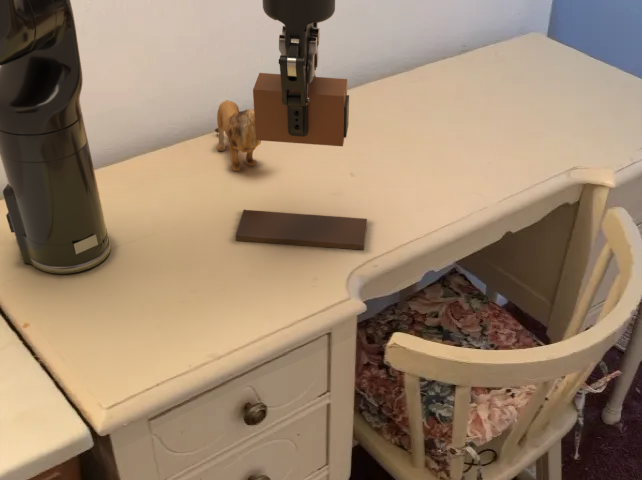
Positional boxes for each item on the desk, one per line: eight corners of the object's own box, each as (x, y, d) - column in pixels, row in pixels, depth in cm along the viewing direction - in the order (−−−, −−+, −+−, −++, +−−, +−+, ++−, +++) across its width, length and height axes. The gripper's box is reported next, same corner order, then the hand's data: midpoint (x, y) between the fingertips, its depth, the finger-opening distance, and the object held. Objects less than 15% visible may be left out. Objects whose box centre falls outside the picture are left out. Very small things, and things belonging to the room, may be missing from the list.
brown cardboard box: (345, 147, 95) (346, 96, 91) (255, 140, 95) (252, 89, 91) (348, 128, 98) (350, 78, 94) (261, 122, 98) (259, 72, 94)
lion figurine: (278, 174, 116) (276, 112, 110) (243, 183, 113) (239, 121, 107) (231, 130, 124) (226, 70, 118) (198, 138, 122) (191, 77, 116)
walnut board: (235, 240, 104) (235, 235, 103) (243, 214, 108) (243, 209, 107) (363, 250, 104) (364, 244, 103) (367, 223, 108) (367, 218, 107)
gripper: (328, -9, 79) (327, 156, 91) (341, -55, 89) (339, 99, 101) (249, -15, 79) (258, 151, 91) (271, -60, 89) (277, 95, 101)
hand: (301, 123), depth 96 cm, fingers closed on brown cardboard box, 4 cm apart
